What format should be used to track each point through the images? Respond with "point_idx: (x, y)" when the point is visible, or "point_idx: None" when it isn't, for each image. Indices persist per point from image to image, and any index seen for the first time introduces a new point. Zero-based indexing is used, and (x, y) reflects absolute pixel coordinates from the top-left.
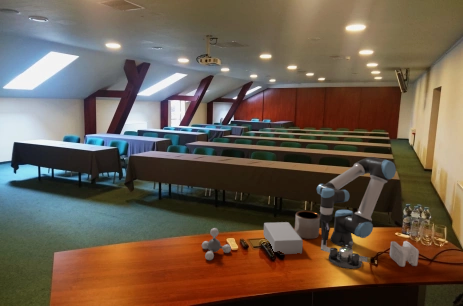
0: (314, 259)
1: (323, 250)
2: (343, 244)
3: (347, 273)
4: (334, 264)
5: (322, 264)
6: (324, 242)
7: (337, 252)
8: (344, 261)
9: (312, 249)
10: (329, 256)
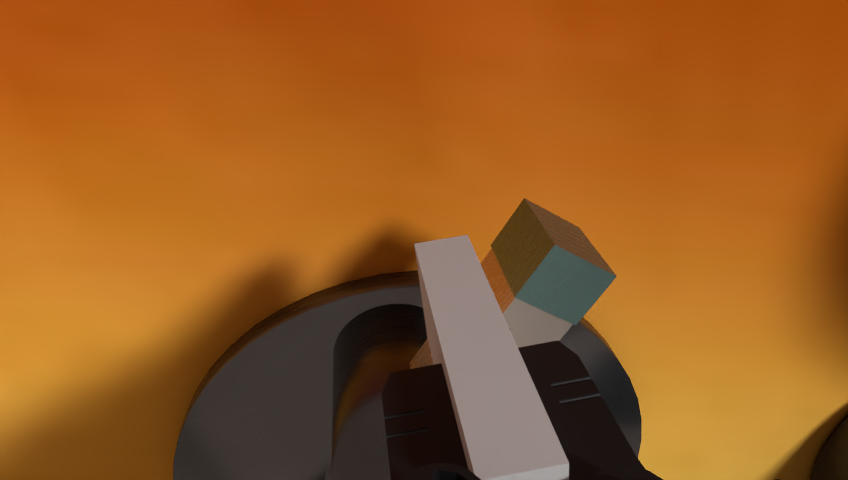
0: (331, 11)
1: (489, 254)
2: (837, 477)
3: (42, 471)
4: (237, 343)
5: (168, 158)
6: (393, 465)
7: (609, 406)
8: (326, 476)
9: (775, 4)
10: None
